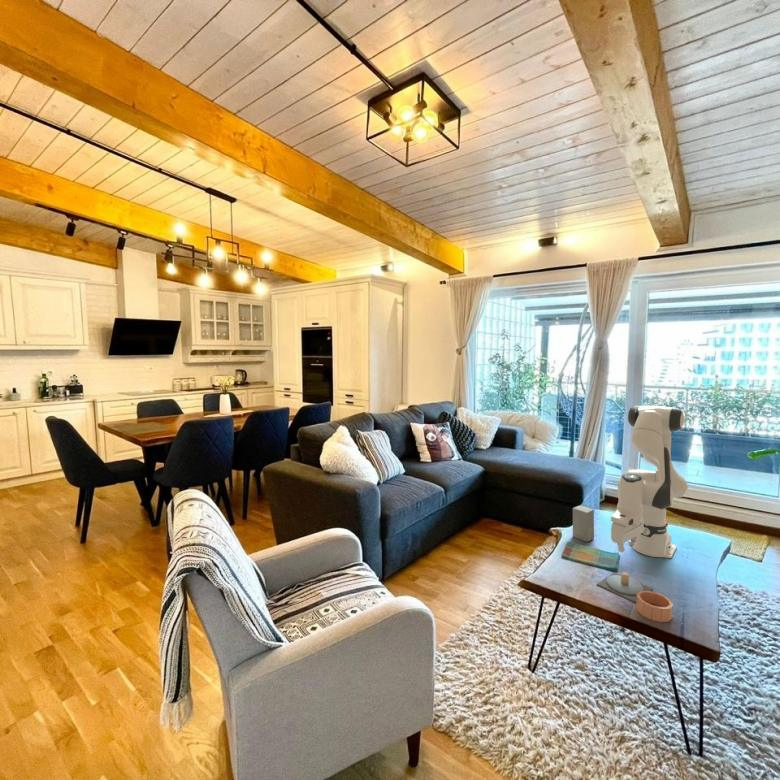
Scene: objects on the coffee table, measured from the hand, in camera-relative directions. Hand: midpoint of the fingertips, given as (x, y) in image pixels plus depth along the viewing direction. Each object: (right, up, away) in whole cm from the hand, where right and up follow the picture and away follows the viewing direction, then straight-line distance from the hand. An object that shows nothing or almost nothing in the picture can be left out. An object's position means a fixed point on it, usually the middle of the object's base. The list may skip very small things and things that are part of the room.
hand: (626, 548), depth 168 cm
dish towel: (-2, -15, +26) cm, 30 cm away
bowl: (+2, -18, -14) cm, 23 cm away
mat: (0, -17, +2) cm, 17 cm away
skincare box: (+3, -13, +46) cm, 48 cm away
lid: (0, -16, +2) cm, 16 cm away
